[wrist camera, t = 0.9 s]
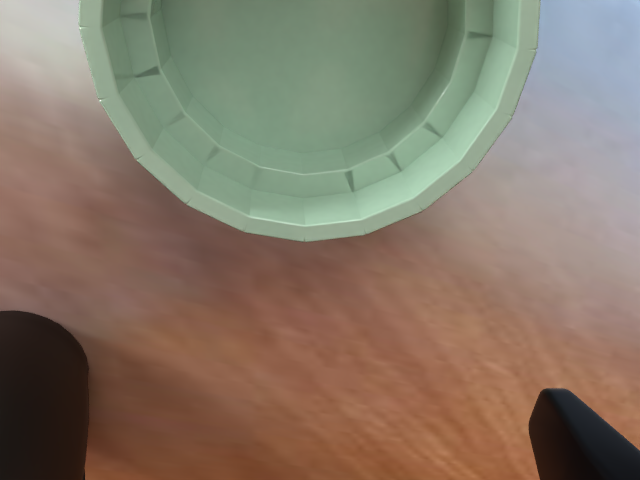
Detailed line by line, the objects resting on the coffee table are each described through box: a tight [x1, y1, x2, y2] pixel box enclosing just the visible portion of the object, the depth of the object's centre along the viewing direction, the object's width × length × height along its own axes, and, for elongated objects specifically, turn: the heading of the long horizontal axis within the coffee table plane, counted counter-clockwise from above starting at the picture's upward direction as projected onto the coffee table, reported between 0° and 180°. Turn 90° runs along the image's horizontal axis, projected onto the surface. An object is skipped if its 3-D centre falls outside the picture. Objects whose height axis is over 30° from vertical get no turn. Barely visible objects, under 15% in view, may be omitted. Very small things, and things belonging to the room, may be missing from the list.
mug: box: [0, 311, 89, 480], centre depth 23 cm, size 8×12×10 cm
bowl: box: [78, 0, 541, 242], centre depth 19 cm, size 12×12×5 cm
